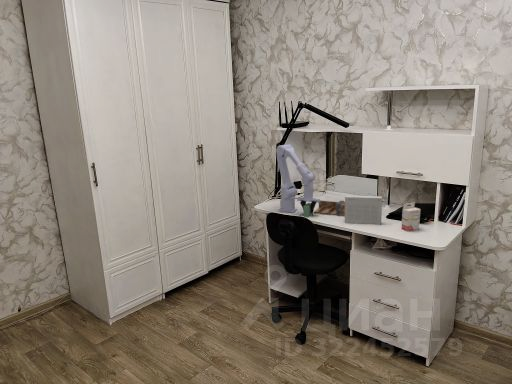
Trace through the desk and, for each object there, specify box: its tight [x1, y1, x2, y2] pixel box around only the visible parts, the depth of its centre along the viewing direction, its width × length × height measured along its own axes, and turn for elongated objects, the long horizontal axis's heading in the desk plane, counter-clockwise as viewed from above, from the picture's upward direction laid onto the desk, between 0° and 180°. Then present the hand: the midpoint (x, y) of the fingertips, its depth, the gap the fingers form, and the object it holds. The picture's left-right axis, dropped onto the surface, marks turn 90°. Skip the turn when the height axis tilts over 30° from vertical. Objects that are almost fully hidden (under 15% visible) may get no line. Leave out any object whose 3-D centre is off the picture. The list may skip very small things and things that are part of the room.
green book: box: [302, 202, 314, 218], centre depth 256 cm, size 4×9×7 cm, turn 154°
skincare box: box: [344, 195, 383, 225], centre depth 237 cm, size 21×6×16 cm, turn 74°
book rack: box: [313, 199, 345, 217], centre depth 259 cm, size 20×11×8 cm, turn 64°
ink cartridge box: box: [401, 201, 421, 232], centre depth 222 cm, size 9×5×15 cm, turn 112°
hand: (308, 212), depth 256 cm, fingers open, 4 cm apart
